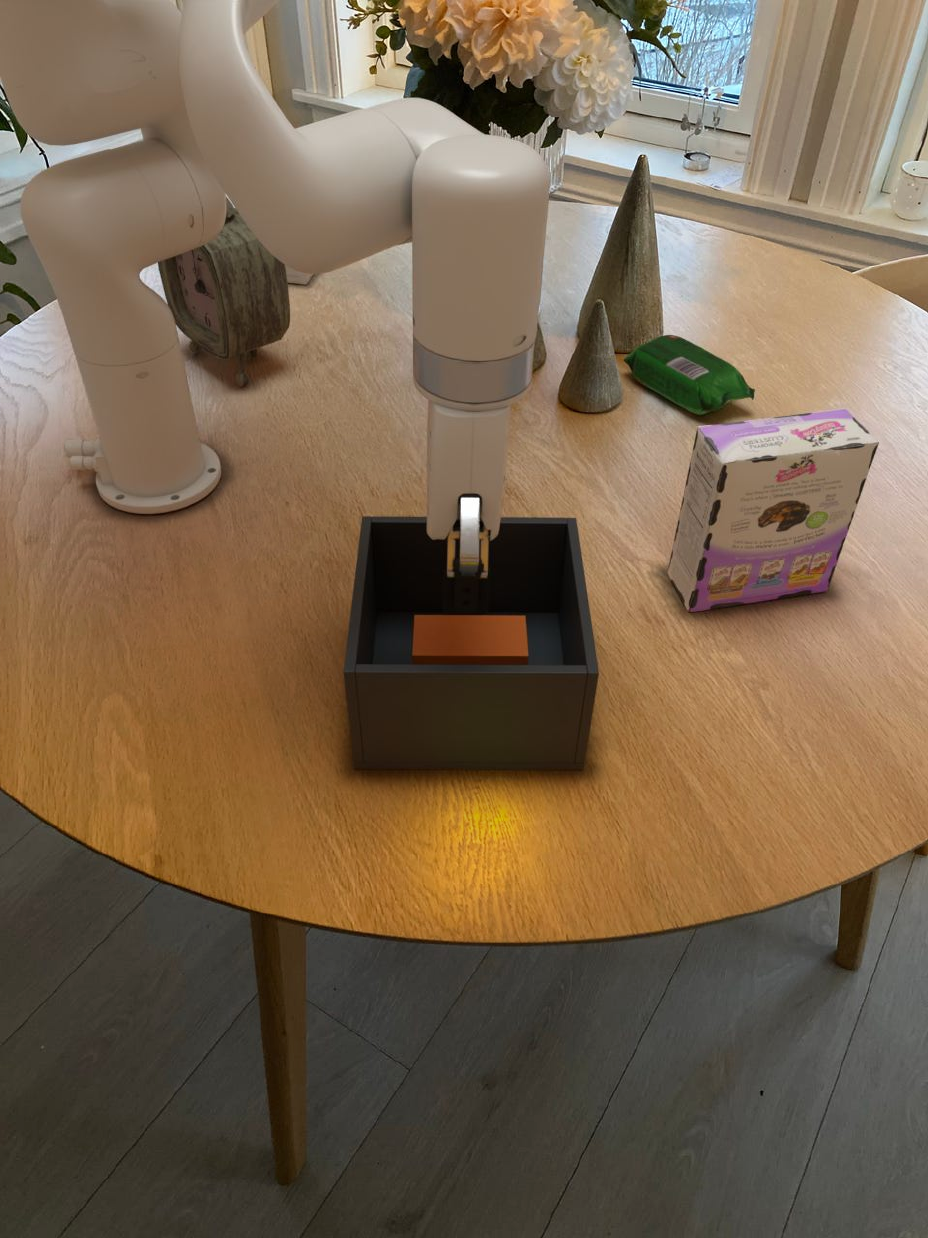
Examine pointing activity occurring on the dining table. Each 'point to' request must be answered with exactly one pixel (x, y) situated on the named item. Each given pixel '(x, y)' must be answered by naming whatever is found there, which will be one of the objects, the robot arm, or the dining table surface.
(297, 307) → the dining table surface
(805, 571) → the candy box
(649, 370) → the snack package
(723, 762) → the dining table surface
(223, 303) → the tabletop clock
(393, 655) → the open box bin
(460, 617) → the orange rectangular block
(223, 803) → the dining table surface
